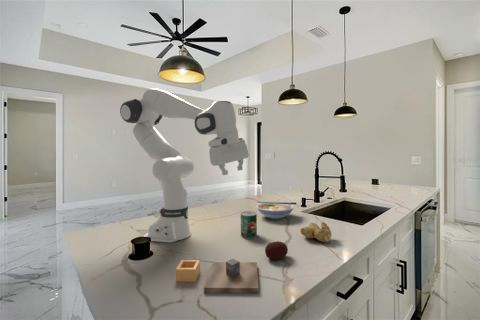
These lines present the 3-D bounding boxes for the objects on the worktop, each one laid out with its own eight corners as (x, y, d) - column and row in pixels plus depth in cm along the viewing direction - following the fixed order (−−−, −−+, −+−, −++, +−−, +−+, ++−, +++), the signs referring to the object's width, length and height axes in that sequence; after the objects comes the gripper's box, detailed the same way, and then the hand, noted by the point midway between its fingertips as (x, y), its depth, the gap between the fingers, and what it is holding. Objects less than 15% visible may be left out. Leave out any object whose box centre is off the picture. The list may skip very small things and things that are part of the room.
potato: (260, 257, 93) (260, 242, 92) (280, 251, 98) (280, 236, 98) (272, 265, 86) (272, 248, 86) (293, 258, 92) (293, 242, 91)
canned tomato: (255, 239, 112) (255, 216, 111) (239, 238, 113) (239, 215, 113) (257, 233, 120) (257, 211, 119) (242, 232, 121) (242, 211, 121)
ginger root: (321, 246, 99) (318, 225, 101) (293, 243, 113) (290, 225, 114) (344, 239, 108) (341, 220, 109) (316, 237, 121) (313, 220, 123)
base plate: (204, 292, 70) (203, 274, 70) (212, 266, 86) (212, 251, 86) (258, 293, 69) (258, 274, 69) (256, 266, 85) (256, 251, 85)
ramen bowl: (250, 221, 139) (250, 207, 139) (259, 211, 161) (259, 199, 161) (294, 224, 132) (294, 210, 132) (296, 214, 154) (296, 201, 154)
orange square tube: (176, 281, 76) (175, 269, 76) (181, 271, 83) (181, 260, 83) (195, 281, 76) (195, 269, 76) (200, 271, 82) (199, 260, 82)
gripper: (238, 138, 108) (242, 167, 110) (205, 143, 93) (210, 177, 94) (249, 136, 104) (253, 167, 106) (216, 141, 89) (221, 177, 90)
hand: (233, 172), depth 100 cm, fingers open, 8 cm apart
